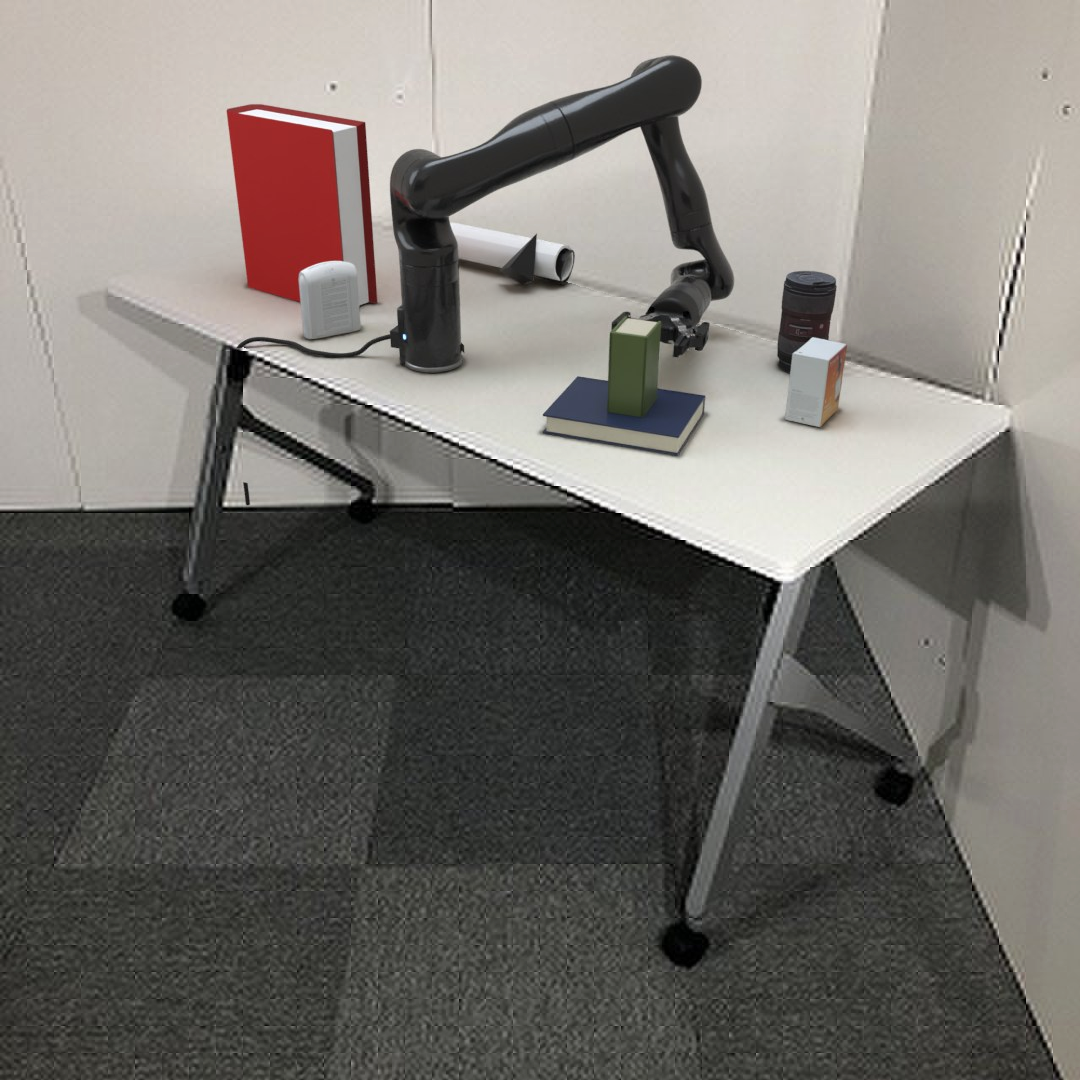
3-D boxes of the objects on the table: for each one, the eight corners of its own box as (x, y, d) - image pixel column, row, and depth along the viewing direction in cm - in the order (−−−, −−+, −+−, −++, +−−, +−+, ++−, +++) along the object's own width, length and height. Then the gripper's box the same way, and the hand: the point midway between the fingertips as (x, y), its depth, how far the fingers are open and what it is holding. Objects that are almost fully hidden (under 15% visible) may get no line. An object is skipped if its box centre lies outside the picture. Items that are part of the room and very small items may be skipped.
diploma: (426, 270, 247) (390, 243, 235) (442, 228, 247) (406, 199, 236) (568, 303, 230) (536, 275, 218) (585, 258, 230) (554, 227, 218)
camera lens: (835, 371, 192) (848, 280, 185) (794, 380, 189) (806, 288, 182) (804, 354, 199) (816, 266, 191) (764, 362, 196) (774, 273, 188)
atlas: (542, 433, 172) (542, 414, 171) (577, 394, 184) (577, 376, 183) (677, 455, 166) (678, 436, 164) (704, 414, 178) (705, 395, 177)
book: (377, 303, 219) (365, 122, 203) (346, 315, 214) (331, 129, 198) (274, 275, 233) (255, 103, 217) (243, 285, 228) (221, 110, 212)
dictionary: (606, 412, 171) (609, 332, 165) (621, 393, 177) (624, 316, 171) (643, 417, 170) (647, 337, 164) (656, 399, 175) (661, 320, 169)
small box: (820, 428, 174) (829, 360, 168) (783, 420, 176) (791, 352, 171) (839, 409, 180) (848, 343, 174) (803, 401, 182) (812, 335, 177)
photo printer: (354, 323, 210) (348, 254, 204) (365, 330, 207) (360, 260, 201) (299, 334, 206) (292, 264, 199) (310, 342, 202) (303, 271, 196)
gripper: (633, 283, 189) (601, 316, 176) (722, 294, 184) (696, 329, 171) (631, 329, 192) (600, 364, 179) (718, 340, 188) (692, 378, 175)
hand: (647, 347), depth 175 cm, fingers open, 8 cm apart
